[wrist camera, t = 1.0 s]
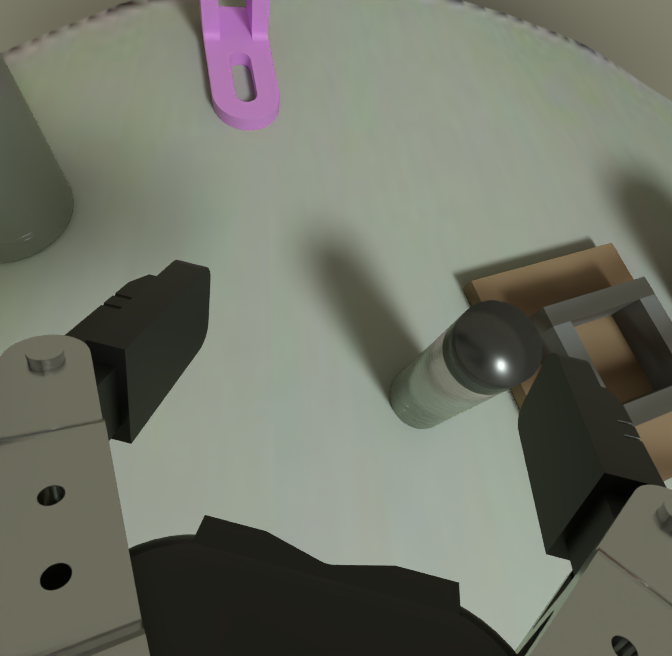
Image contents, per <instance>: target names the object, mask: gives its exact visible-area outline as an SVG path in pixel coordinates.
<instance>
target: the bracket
mask: <svg viewBox="0 0 672 656" xmlns="http://www.w3.org/2000/svg"><path fill="white" fill-rule="evenodd" d="M198 1H199V12H200V22H201V28H202V35H203V42H204V49H205V55H206V62H207V69H208V76H209V82H210V89H211V96H212V103H213V108H214V111H215V113H216V114H217V116H218V117H219V118H220V119H221V120H222V121H223V122H224V123H226V124H227V125H229V126H231V127H234V128H237V129H241V130H258V129H261V128H264V127H266V126H268V125H269V124H271V123H272V122H273V121H274V120H275V118H276V117H277V114H278V110H279V98H280V95H279V90H278V85H277V80H276V75H275V70H274V66H273V61H272V56H271V51H270V46H269V42H268V17H269V0H246V7H219V6H218V0H198ZM234 65H244V66H246V67H248V68H249V69H250V71H251V76H252V81H253V86H254V92H255V97H256V99H255V100H253V101H250V102H244V101H241V100H239V99H238V98H237V97H236V95H235V91H234V85H233V79H232V73H231V67H232V66H234Z"/></svg>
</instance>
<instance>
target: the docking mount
mask: <svg viewBox="0 0 672 656" xmlns="http://www.w3.org/2000/svg"><path fill="white" fill-rule="evenodd" d="M463 290H464V292H465V294H466V296H467V298H468V300H469V303H470V305H471V306H473V305H475V304H477V303H479V302H482V301H487V300H497V301H502V302H506V303H509V304H511V305H513V306H515V307H517V308H518V309H520V310H521V311H522V312H524V313H525V314H526V315H527V316H528V317H529V318H530V320H531V321H532V322H533V324H534V325H535V327H536V328H537V330H538V333H539V335H540V338H541V342H542V359H541V363H540V366H539V368H538V369H537V371H536V372H535V374H534V375H533V376H532V377H531V378H529V379H528V380H526V381H524V382H522V383H520V384H518V385H516V386H514V387H512V388H510V390H511V392H512V394H513V396H514V398H515V400H516V402H517V404H518V406H519V409H521V406H522V404H523V401H524V399H525V398H526V396H527V394H528V392H529V390H530V388H531V386H532V384H533V382H534V380H535V378H536V376H537V374H538V373H539V371H540V369H541V367H542V365H543V363H544V361H545V359H546V358H547V357H548V356H549V355H550V354H551V353H557V354H561V355H565V356H569V357H574V358H578V359H582V360H586V361H588V362H589V363H590V365H591V367H592V369H593V371H594V373H595V375H596V377H597V379H598V381H599V384H600V386H601V387H605V388H607V389H608V390H609V391H610V392H611V393H612V394H613V395H614V396H615V397H616V398H617V399H618V400H619V401H620V402H621V403H622V404H623V405H624V407H625V409H626V411H627V413H628V415H629V417H630V419H631V420H632V422H633V424H632V426H634V427H635V428H636V430H637V432H638V434H639V436H640V441H642V442H643V443H644V445H645V447H646V449H647V451H648V453H649V455H650V457H651V459H652V461H653V463H654V465H655V466H656V468H657V470H658V472H659V474H660V476H661V478H662V480H663V481H665V480H667V479H669V478H671V477H672V322H671V320H670V318H669V317H668V315H667V313H666V312H665V310H664V308H663V307H662V305H661V303H660V302H659V300H658V298H657V297H656V295H655V293H654V292H653V290H652V288H651V287H650V285H649V283H648V282H647V280H646V278H645V277H642V278H638V279H635V280H634V279H633V278H632V276H631V274H630V273H629V271H628V269H627V268H626V266H625V264H624V263H623V261H622V259H621V257H620V256H619V254H618V252H617V251H616V249H615V247H614V246H613V244H612V243H609V244H606V245H602V246H598V247H594V248H591V249H587V250H583V251H580V252H576V253H572V254H569V255H565V256H561V257H557V258H554V259H550V260H546V261H543V262H539V263H535V264H532V265H528V266H524V267H521V268H517V269H513V270H509V271H506V272H502V273H498V274H495V275H491V276H487V277H484V278H480V279H476V280H472V281H471V282H470V283H469V284H468V285H467V286H466V287H465V288H464V289H463Z"/></svg>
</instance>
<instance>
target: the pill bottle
mask: <svg viewBox="0 0 672 656" xmlns="http://www.w3.org/2000/svg"><path fill="white" fill-rule="evenodd" d="M541 359H542V342H541V338H540V335H539V333H538V330H537V328H536V327H535V325H534V324H533V322H532V321H531V320H530V318H529V317H528V316H527V315H526V314H525V313H524V312H522V311H521V310H520V309H518V308H517V307H515V306H513V305H511V304H509V303H506V302H502V301H497V300H487V301H482V302H479V303H477V304H475V305H473V306H471V307H470V308H469V309H468V310H467V311H466V312H465V313H464V314H462V315H461V316H460V317H459V318H458V319H457V320H456V321H455V322H454V323H453V324H452V325H451V326H450V327H449V328H448V329H447V330H446V331H445V332H443V333H442V334H441V335H440V336H439V337H438V338H437V339H436V340H435V341H434V342H433V343H432V344H431V345H430V346H429V347H428V348H427V349H426V350H424V351H423V352H422V353H421V354H420V355H419V356H418V357H417V358H416V359H415V360H414V361H413V362H412V363H411V364H410V365H409V366H408V367H407V368H405V369H404V370H403V371H402V372H401V373H400V374H399V375H398V376H397V377H396V378H395V380H394V382H393V383H392V386H391V390H390V401H391V405H392V408H393V410H394V412H395V413H396V415H397V416H398V417H399V418H400V419H401V420H402V421H403V422H404V423H405V424H407V425H409V426H411V427H414V428H419V429H427V428H431V427H434V426H436V425H438V424H440V423H442V422H444V421H446V420H448V419H450V418H452V417H454V416H456V415H458V414H460V413H462V412H464V411H466V410H468V409H470V408H472V407H474V406H476V405H478V404H480V403H482V402H484V401H486V400H488V399H490V398H492V397H494V396H496V395H498V394H500V393H502V392H504V391H506V390H508V389H510V388H512V387H514V386H516V385H518V384H520V383H522V382H524V381H526V380H528V379H529V378H531V377H532V376H533V375H534V374H535V372H536V371H537V369H538V368H539V366H540V363H541Z"/></svg>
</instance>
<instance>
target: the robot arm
mask: <svg viewBox="0 0 672 656" xmlns="http://www.w3.org/2000/svg"><path fill="white" fill-rule="evenodd" d="M72 211H73V195H72V191H71V188H70V186H69V184H68V182H67V180H66V178H65V176H64V174H63V172H62V170H61V168H60V166H59V164H58V162H57V161H56V159H55V157H54V155H53V153H52V151H51V149H50V147H49V145H48V143H47V141H46V139H45V137H44V135H43V133H42V131H41V129H40V127H39V126H38V124H37V122H36V120H35V118H34V116H33V114H32V112H31V110H30V108H29V106H28V105H27V103H26V101H25V99H24V97H23V95H22V93H21V91H20V89H19V87H18V86H17V84H16V82H15V80H14V78H13V76H12V74H11V72H10V70H9V68H8V66H7V65H6V63H5V61H4V59H3V57H2V55H1V53H0V263H4V262H12V261H16V260H19V259H23V258H26V257H29V256H31V255H33V254H35V253H37V252H39V251H41V250H43V249H44V248H46V247H47V246H48V245H50V244H51V243H53V242H54V241H55V240H56V239H57V238H58V237H59V236H60V234H61V233H62V232H63V231H64V229H65V228H66V226H67V224H68V223H69V221H70V217H71V214H72ZM209 298H210V270H209V268H207V267H204V266H200V265H196V264H192V263H188V262H184V261H180V260H175V261H173V262H172V263H171V264H170V265H169V266H168V267H166V268H165V269H164V270H163V271H162V272H161V273H160V274H159V275H157V276H153V275H147V276H144V277H141V278H139V279H136V280H133V281H131V282H129V283H127V284H126V285H125V286H124V287H122V288H121V289H120V290H119V291H118V292H116V293H115V296H112V297H110V298H109V299H108V300H107V301H106V302H104V305H101V306H100V307H98V308H97V309H96V310H95V311H93V312H92V313H91V314H90V315H89V316H87V317H86V318H85V319H84V320H83V321H81V322H80V323H79V324H78V325H77V326H75V327H74V328H73V329H72V330H70V331H69V332H68V333H67V334H66V335H43V336H37V337H32V338H29V339H26V340H23V341H20V342H18V343H16V344H14V345H12V346H11V347H9V348H8V349H7V350H6V351H4V353H3V354H2V355H1V356H0V656H672V490H670V489H668V488H666V486H665V484H664V482H663V480H662V478H661V476H660V474H659V472H658V470H657V468H656V466H655V465H654V463H653V461H652V459H651V457H650V455H649V453H648V451H647V449H646V447H645V445H644V443H643V442H642V441H640V436H639V434H638V432H637V430H636V428H635V427H634V426H632V424H633V422H632V420H631V419H630V417H629V415H628V413H627V411H626V409H625V407H624V405H623V404H622V403H621V402H620V401H619V400H618V399H617V398H616V397H615V396H614V395H613V394H612V393H611V392H610V391H609V390H608V389H607V388H605V387H601V386H600V384H599V381H598V379H597V377H596V375H595V373H594V371H593V369H592V367H591V365H590V363H589V362H588V361H586V360H582V359H578V358H574V357H569V356H565V355H561V354H557V353H551V354H550V355H549V356H548V357H547V358H546V359H545V361H544V363H543V365H542V367H541V369H540V371H539V373H538V374H537V376H536V378H535V380H534V382H533V384H532V386H531V388H530V390H529V392H528V394H527V396H526V398H525V399H524V401H523V404H522V406H521V409H520V412H519V418H518V430H519V435H520V440H521V444H522V448H523V453H524V457H525V462H526V466H527V471H528V475H529V480H530V484H531V489H532V493H533V498H534V502H535V507H536V511H537V515H538V520H539V524H540V529H541V533H542V538H543V542H544V547H545V551H546V554H548V555H551V556H555V557H559V558H563V559H567V560H570V562H571V565H572V569H573V570H572V571H571V572H570V573H569V575H568V576H567V577H566V578H565V580H564V581H563V583H562V584H561V586H560V587H559V588H558V590H557V591H556V593H555V594H554V596H553V597H552V599H551V600H550V601H549V603H548V604H547V606H546V607H545V609H544V610H543V612H542V613H541V615H540V616H539V617H538V619H537V620H536V622H535V623H534V625H533V626H532V628H531V629H530V630H529V632H528V633H527V635H526V636H525V638H524V639H523V641H522V642H521V643H520V645H519V646H518V647H517V649H516V650H515V651H514V650H513V649H512V647H511V646H510V645H509V644H508V643H507V642H506V641H505V640H504V639H503V638H502V637H501V636H500V635H499V634H498V633H497V632H496V631H495V630H493V629H492V628H491V627H490V626H489V625H487V624H486V623H485V622H484V621H483V620H481V619H480V618H478V617H477V616H475V615H474V614H473V613H471V612H470V611H468V610H466V609H465V608H463V607H461V606H460V593H459V583H458V582H455V581H451V580H447V579H443V578H440V577H436V576H432V575H428V574H425V573H421V572H417V571H413V570H410V569H406V568H402V567H398V566H374V565H330V564H326V563H323V562H321V561H319V560H317V559H316V558H314V557H312V556H310V555H308V554H307V553H305V552H303V551H301V550H299V549H297V548H296V547H294V546H292V545H290V544H288V543H287V542H285V541H283V540H281V539H279V538H278V537H276V536H274V535H272V534H270V533H268V532H267V531H263V530H259V529H256V528H252V527H248V526H244V525H241V524H237V523H233V522H229V521H226V520H222V519H218V518H214V517H211V516H207V515H205V516H204V518H203V520H202V522H201V525H200V527H199V529H198V531H197V533H196V535H176V536H168V537H164V538H159V539H154V540H151V541H148V542H145V543H142V544H139V545H136V546H134V547H132V548H129V549H128V543H127V538H126V532H125V527H124V522H123V516H122V511H121V505H120V500H119V494H118V489H117V483H116V478H115V472H114V467H113V462H112V456H111V451H110V445H109V440H110V439H115V440H119V441H123V442H126V443H130V444H131V443H132V442H133V441H134V439H135V438H136V436H137V435H138V434H139V432H140V431H141V430H142V428H143V427H144V425H145V424H146V423H147V421H148V420H149V419H150V417H151V416H152V414H153V413H154V412H155V410H156V409H157V408H158V406H159V405H160V404H161V402H162V401H163V399H164V398H165V397H166V395H167V394H168V393H169V391H170V390H171V388H172V387H173V386H174V384H175V383H176V382H177V380H178V379H179V377H180V376H181V375H182V373H183V372H184V371H185V369H186V368H187V366H188V365H189V364H190V362H191V361H192V360H193V358H194V357H195V355H196V354H197V353H198V351H199V350H200V348H201V347H202V345H203V343H204V340H205V337H206V334H207V329H208V319H209Z"/></svg>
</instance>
